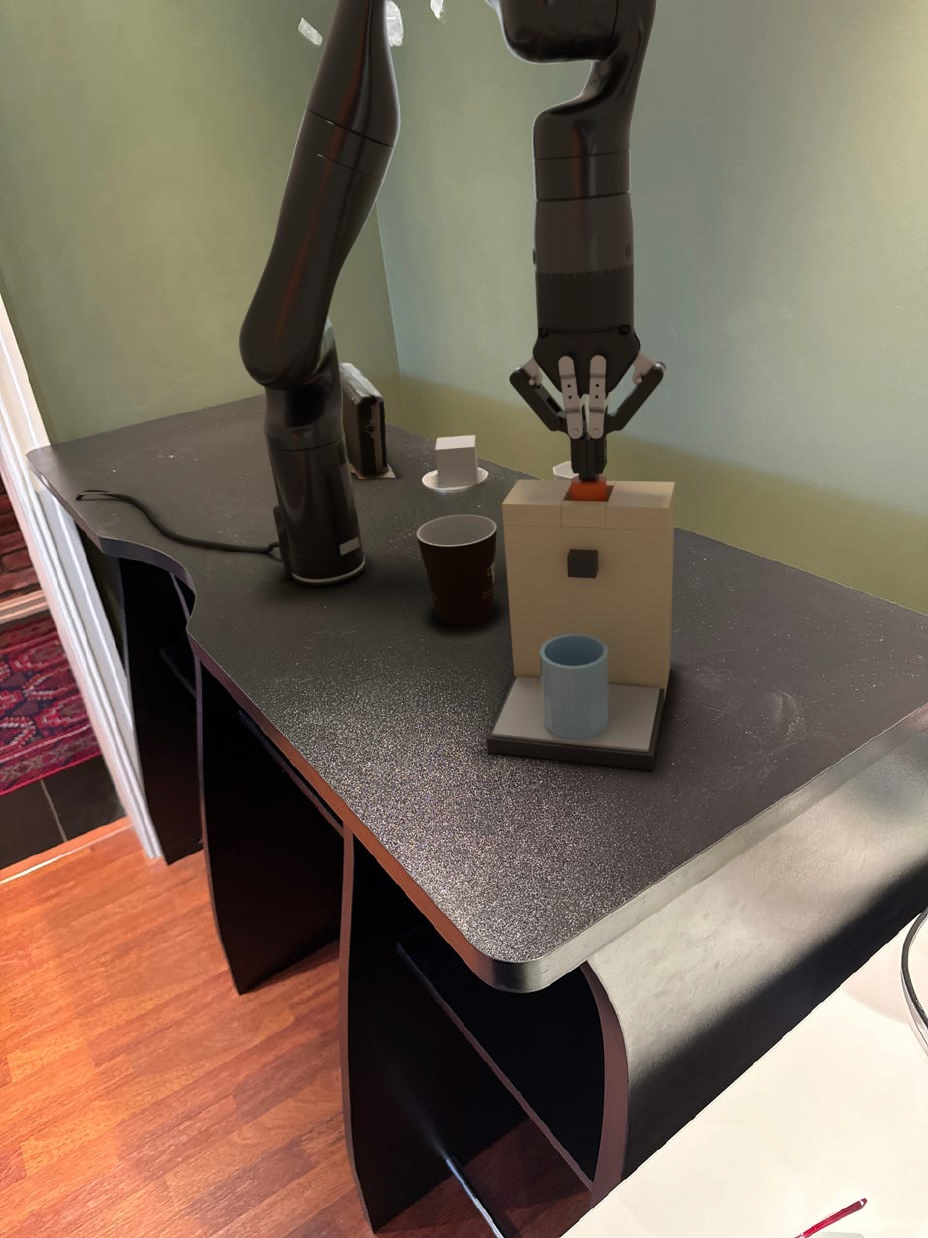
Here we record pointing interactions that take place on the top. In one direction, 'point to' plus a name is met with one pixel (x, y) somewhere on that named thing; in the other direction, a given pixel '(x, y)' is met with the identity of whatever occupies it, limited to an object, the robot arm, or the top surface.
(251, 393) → the top surface
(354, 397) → the radio
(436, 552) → the coffee mug
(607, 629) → the coffee maker
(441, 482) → the white cube
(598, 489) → the brew button
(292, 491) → the robot arm
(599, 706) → the creamer cup
